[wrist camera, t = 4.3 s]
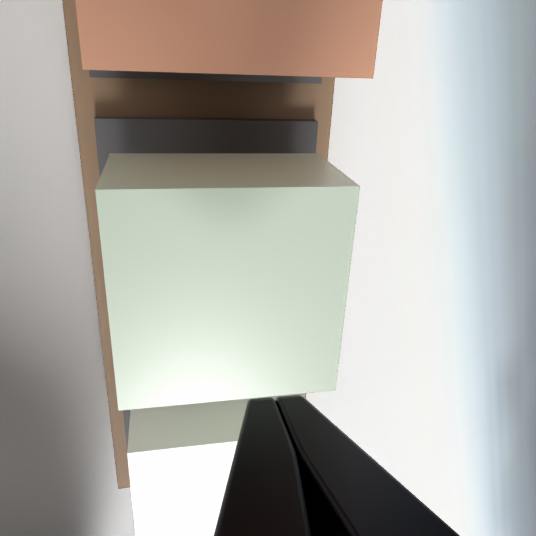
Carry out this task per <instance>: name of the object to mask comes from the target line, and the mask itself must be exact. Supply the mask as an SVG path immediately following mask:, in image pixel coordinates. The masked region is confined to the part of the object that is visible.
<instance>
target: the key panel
mask: <svg viewBox="0 0 536 536" xmlns="http://www.w3.org/2000/svg"><path fill="white" fill-rule="evenodd" d="M62 1H63V10H64V19H65V27H66V36H67V45H68V54H69V62H70V71H71V80H72V88H73V97H74V106H75V115H76V123H77V132H78V141H79V150H80V158H81V167H82V176H83V184H84V193H85V202H86V211H87V219H88V228H89V237H90V246H91V254H92V263H93V272H94V280H95V289H96V298H97V307H98V315H99V324H100V333H101V342H102V350H103V359H104V368H105V377H106V385H107V394H108V403H109V411H110V420H111V429H112V438H113V446H114V455H115V464H116V473H117V481H118V489H121V488H129V487H131V486H130V476H129V466H128V456H127V449H128V436H129V423H130V410H120V411H118V402H117V393H116V383H115V374H114V364H113V355H112V345H111V336H110V326H109V317H108V307H107V298H106V288H105V279H104V269H103V260H102V250H101V240H100V231H99V221H98V212H97V202H96V193H95V189H96V186H97V184H98V181H99V179H100V177H101V174H102V172H103V169H104V167H105V164H106V162H107V159H108V157H109V154H110V153H318V154H319V155H320V156H322V157H323V158H324V159H325V160H327V159H328V148H329V137H330V126H331V115H332V104H333V93H334V82H335V77H309V76H276V75H243V74H210V73H177V72H144V71H111V70H83V69H82V60H81V50H80V41H79V31H78V22H77V12H76V3H75V0H62ZM304 395H305V397H306V393H304Z"/></svg>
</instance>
